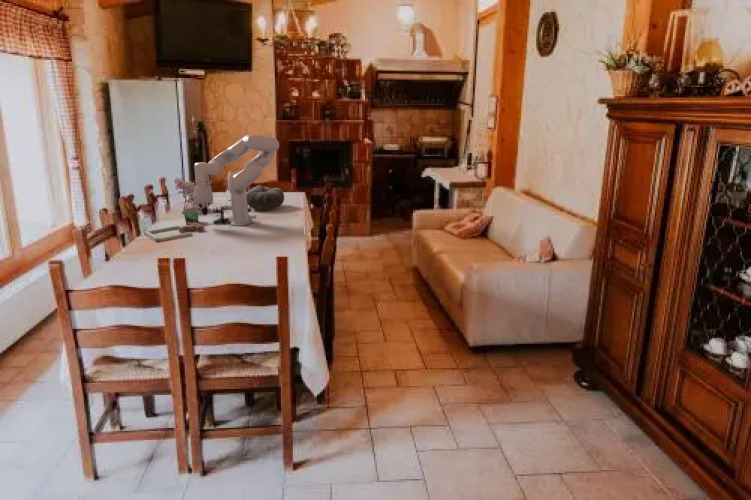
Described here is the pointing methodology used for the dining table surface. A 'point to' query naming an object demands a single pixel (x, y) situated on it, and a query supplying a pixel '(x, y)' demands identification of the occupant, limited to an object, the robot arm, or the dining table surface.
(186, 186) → the flower
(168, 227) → the sage-green bay
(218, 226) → the dining table surface
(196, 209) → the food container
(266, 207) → the gourd
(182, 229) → the walnut T block
